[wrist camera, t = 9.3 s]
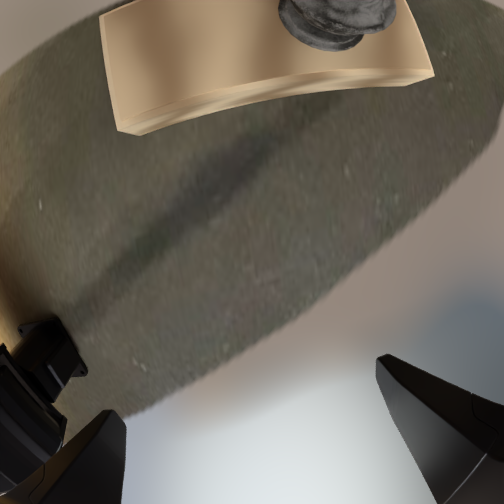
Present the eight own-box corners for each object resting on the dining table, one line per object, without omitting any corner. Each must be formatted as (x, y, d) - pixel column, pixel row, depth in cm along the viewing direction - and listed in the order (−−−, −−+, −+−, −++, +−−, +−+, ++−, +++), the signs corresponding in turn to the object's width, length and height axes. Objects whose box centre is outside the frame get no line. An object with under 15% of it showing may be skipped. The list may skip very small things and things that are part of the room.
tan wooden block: (139, 136, 17) (115, 130, 13) (119, 37, 15) (97, 14, 11) (405, 86, 17) (436, 75, 13) (371, -2, 14) (394, -24, 10)
